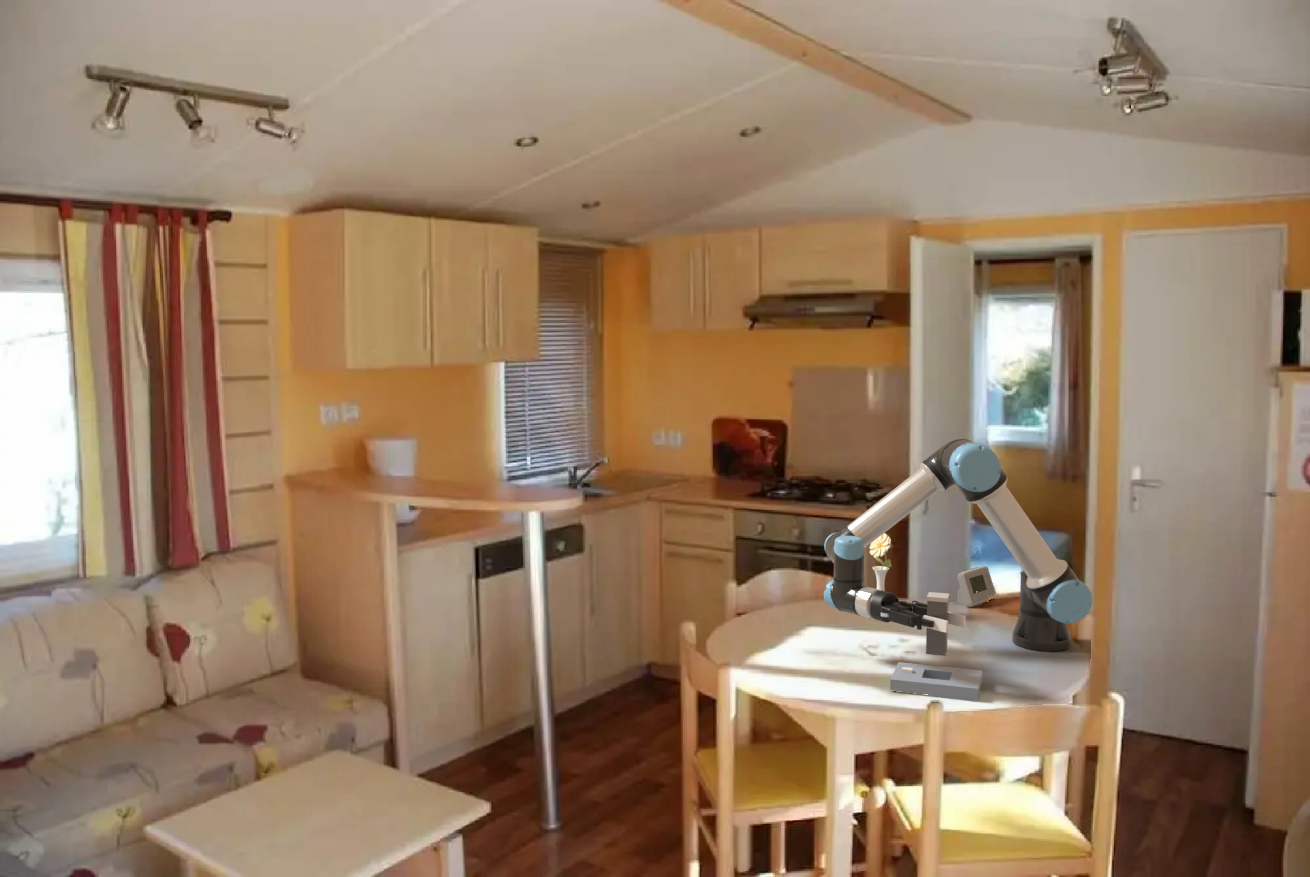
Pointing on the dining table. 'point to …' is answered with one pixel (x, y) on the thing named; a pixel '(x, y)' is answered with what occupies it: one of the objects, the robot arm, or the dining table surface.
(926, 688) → the socket plate
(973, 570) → the digital clock
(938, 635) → the plug
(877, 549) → the flower in vase
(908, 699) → the dining table surface
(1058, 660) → the dining table surface
